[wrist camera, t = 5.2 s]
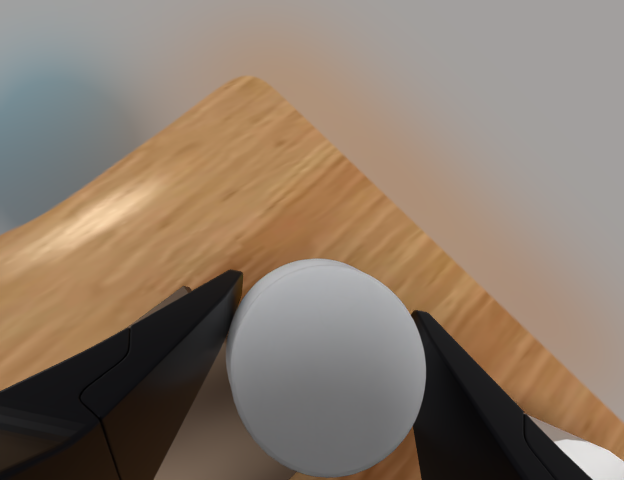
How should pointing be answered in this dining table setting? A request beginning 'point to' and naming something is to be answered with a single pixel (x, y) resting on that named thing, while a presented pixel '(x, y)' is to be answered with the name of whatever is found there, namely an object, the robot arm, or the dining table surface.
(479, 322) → the dining table surface
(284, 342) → the supplement bottle
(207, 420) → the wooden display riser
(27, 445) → the robot arm
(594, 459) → the base with upright slab
